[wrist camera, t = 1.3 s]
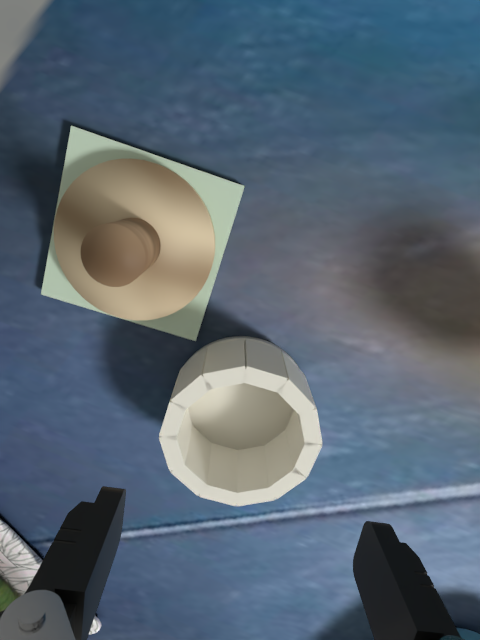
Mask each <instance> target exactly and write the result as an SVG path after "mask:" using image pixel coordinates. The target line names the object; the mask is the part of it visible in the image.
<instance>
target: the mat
mask: <svg viewBox="0 0 480 640" xmlns="http://www.w3.org/2000/svg"><path fill="white" fill-rule="evenodd" d="M116 159H139V160H145V161H149V162H152V163H156V164H159V165H161V166H164V167H166V168H168V169H170V170H172V171H173V172H175V173H177V174H178V175H180V176H181V177H182V178H183V179H185V180H186V181H187V182H188V183H189V184H190V185H191V186H192V187H193V188H194V189H195V190H196V192H197V193H198V194H199V195H200V197H201V198H202V200H203V202H204V203H205V205H206V207H207V209H208V211H209V214H210V216H211V219H212V223H213V226H214V232H215V256H214V261H213V265H212V268H211V271H210V273H209V276H208V279H207V281H206V282H205V284H204V286H203V288H202V289H201V290H200V292H199V293H198V294H197V296H196V297H195V298H194V299H193V300H192V301H191V302H190V303H188V304H187V305H186V306H185V307H183V308H182V309H180V310H178V311H177V312H175V313H173V314H170V315H168V316H166V317H162V318H158V319H153V320H140V321H136V320H127V319H124V320H127V321H131V322H134V323H137V324H140V325H144V326H147V327H150V328H154V329H157V330H160V331H163V332H167V333H170V334H173V335H177V336H180V337H183V338H187V339H190V340H193V341H196V339H197V335H198V332H199V329H200V326H201V323H202V320H203V316H204V313H205V310H206V307H207V304H208V301H209V298H210V294H211V291H212V288H213V285H214V282H215V279H216V275H217V272H218V269H219V266H220V263H221V260H222V256H223V253H224V250H225V247H226V244H227V241H228V237H229V234H230V231H231V228H232V225H233V222H234V218H235V215H236V212H237V209H238V206H239V203H240V199H241V196H242V193H243V190H244V187H245V186H243V185H240V184H237V183H234V182H231V181H229V180H226V179H223V178H220V177H217V176H214V175H211V174H208V173H206V172H203V171H200V170H197V169H194V168H191V167H188V166H185V165H183V164H180V163H177V162H174V161H171V160H168V159H165V158H163V157H160V156H157V155H154V154H151V153H148V152H145V151H142V150H140V149H137V148H134V147H131V146H128V145H125V144H122V143H120V142H117V141H114V140H111V139H108V138H105V137H102V136H99V135H97V134H94V133H91V132H88V131H85V130H82V129H79V128H77V127H74V126H71V129H70V135H69V140H68V146H67V151H66V157H65V163H64V168H63V174H62V179H61V185H60V191H59V196H58V202H57V207H56V212H57V208H58V206H59V203H60V201H61V198H62V197H63V195H64V193H65V192H66V190H67V189H68V187H69V186H70V185H71V184H72V182H73V181H74V180H75V179H76V178H78V177H79V176H80V175H81V174H82V173H84V172H85V171H87V170H88V169H90V168H91V167H94V166H96V165H98V164H100V163H103V162H106V161H110V160H116ZM55 216H56V213H55ZM54 221H55V219H54ZM41 294H42V295H45V296H48V297H52V298H55V299H58V300H61V301H65V302H68V303H71V304H75V305H78V306H81V307H84V308H88V309H91V310H94V311H98V312H101V313H104V314H107V313H105V312H103V311H101V310H99V309H97V308H96V307H94V306H93V305H91V304H90V303H89V302H87V301H86V300H85V299H84V298H83V297H82V296H81V295H80V294H79V293H78V292H77V291H76V290H75V289H74V288H73V286H72V285H71V284H70V282H69V281H68V280H67V278H66V276H65V274H64V273H63V271H62V268H61V266H60V264H59V261H58V258H57V254H56V251H55V245H54V224H53V230H52V235H51V241H50V246H49V252H48V258H47V263H46V269H45V274H44V280H43V286H42V291H41ZM108 315H110V314H108ZM111 316H113V315H111ZM114 317H115V316H114ZM117 318H119V317H117ZM121 319H123V318H121Z"/></svg>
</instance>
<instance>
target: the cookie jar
mask: <svg viewBox="0 0 480 640" xmlns="http://www.w3.org/2000/svg"><path fill="white" fill-rule="evenodd" d="M42 561H43V560H42V559H41V558H40V557H39V556H38V555H37V554H36V553H35V552H34V551H33V550H32V549H31V548H30V547H29V546H28V545H27V544H26V543H25V542H24V541H23V540H22V539H21V538H20V537H19V536H18V535H17V534H16V533H15V532H14V531H13V530H12V529H11V528H10V527H9V526H8V525H7V524H6V523H5V522H4V521H3V520H2V519H1V518H0V612H1V611H3V610H5V609H6V608H7V607H8V606H9V605H10V604H11V603H12V602H13V601H14V600H15V599H17V598H18V597H20V596H22V595H24V593H25V592H26V591H27V589H28V587H29V586H30V584H31V582H32V580H33V578H34V576H35V574H36V573H37V571H38V569H39V567H40V565H41V563H42ZM100 627H101V622H100V620H99V619H98V618H97V617H96V616H95V617H94V620H93V623H92V626H91V629H90V632H89V634H94V633H97V632H98V631H99V629H100Z"/></svg>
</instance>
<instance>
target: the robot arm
mask: <svg viewBox="0 0 480 640" xmlns="http://www.w3.org/2000/svg"><path fill="white" fill-rule="evenodd" d="M125 496H126V489H120V488H112V487H104V486H103V487H102V488H101V490H100V492H99V494H98V496H97V498H96V501H95V503H89V502H80V503H79V504H78V505H77V506H76V507H75V508H74V509H72V510H71V511H70V512H69V513H68V515H67V516H66V518H65V520H64V522H63V524H62V526H61V528H60V530H59V531H58V533H57V535H56V537H55V539H54V542H53V543H52V545H51V546H50V548H49V550H48V552H47V554H46V556H45V558H44V559H43V561H42V563H41V565H40V567H39V569H38V571H37V573H36V574H35V576H34V578H33V580H32V582H31V584H30V586H29V587H28V589H27V591H26V592H25V593H24V595H22V596H20V597H18V598H17V599H15V600H14V601H13V602H12V603H11V604H10V605H9V606H8V607H7V608H6V609H5V610H3V611H1V612H0V640H87V638H88V635H89V632H90V629H91V626H92V623H93V620H94V617H95V614H96V611H97V608H98V605H99V602H100V599H101V596H102V593H103V590H104V587H105V584H106V581H107V578H108V575H109V572H110V569H111V566H112V563H113V560H114V557H115V554H116V551H117V548H118V545H119V541H120V537H121V532H122V525H123V515H124V506H125ZM353 572H354V577H355V581H356V584H357V587H358V590H359V593H360V596H361V599H362V602H363V605H364V609H365V612H366V615H367V618H368V621H369V624H370V627H371V630H372V633H373V636H374V639H375V640H465V639H463V638H461V636H460V634H459V632H458V631H457V629H456V627H455V625H454V623H453V621H452V619H451V617H450V615H449V613H448V612H447V610H446V608H445V606H444V604H443V602H442V600H441V598H440V596H439V594H438V593H437V591H436V589H434V585H433V583H432V581H431V579H430V577H429V576H427V572H426V570H425V568H424V566H423V564H422V562H421V560H420V558H419V557H418V556H417V555H416V554H415V552H414V551H413V550H412V549H411V548H410V547H409V546H408V545H407V544H406V543H401V542H399V540H398V538H397V536H396V534H395V532H394V530H393V528H392V526H391V525H390V524H386V523H378V522H370V521H366V522H365V524H364V526H363V529H362V532H361V535H360V539H359V542H358V545H357V548H356V551H355V555H354V559H353Z"/></svg>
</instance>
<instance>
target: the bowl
mask: <svg viewBox="0 0 480 640" xmlns="http://www.w3.org/2000/svg"><path fill="white" fill-rule="evenodd" d="M159 440H160V443H161V446H162V449H163V452H164V455H165V458H166V462H167V465H168V468H169V471H170V470H171V473H172V474H173V475H174V476H175V477H176V478H178V479H179V480H180V481H181V482H182V483H183V484H184V485H186V486H187V487H188V488H189V489H190V490H191V491H192V492H194V493H195V494H196V495H197V496H198V495H199V497H202V498H206V499H210V500H213V501H217V502H221V503H225V504H229V505H232V506H236V504H237V506H243V505H249V504H255V503H261V502H267V501H273V500H275V498H276V499H278V498H279V497H281V496H282V495H284V494H285V493H286V492H288V491H289V490H291V489H292V488H294V487H295V486H296V485H298V484H299V483H301V482H302V481H303V480H305V479H306V477H308V475H309V473H310V471H311V469H312V467H313V464H314V462H315V460H316V458H317V456H318V454H319V451H320V449H321V447H322V438H321V432H320V426H319V420H318V414H317V408H316V406H315V403H314V400H313V397H312V394H311V391H310V389H309V386H308V383H307V380H306V377H305V375H304V374H303V373H302V371H301V370H300V368H299V367H298V365H297V364H296V362H295V361H294V360H293V359H292V357H291V356H290V355H289V354H287V353H286V352H285V351H284V350H283V349H281V348H280V347H278V346H276V345H275V344H273V343H271V342H268V341H266V340H263V339H259V338H255V337H248V336H233V337H226V338H222V339H218V340H216V341H213V342H211V343H209V344H207V345H205V346H203V347H202V348H200V349H199V350H198V351H196V352H195V353H194V354H193V355H192V356H191V357H190V358H189V359H188V360H187V362H186V363H185V364H184V366H183V367H182V368H181V370H180V371H179V374H178V377H177V380H176V383H175V387H174V390H173V393H172V396H171V399H170V402H169V405H168V408H167V411H166V415H165V418H164V421H163V424H162V428H161V431H160V434H159Z"/></svg>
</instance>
